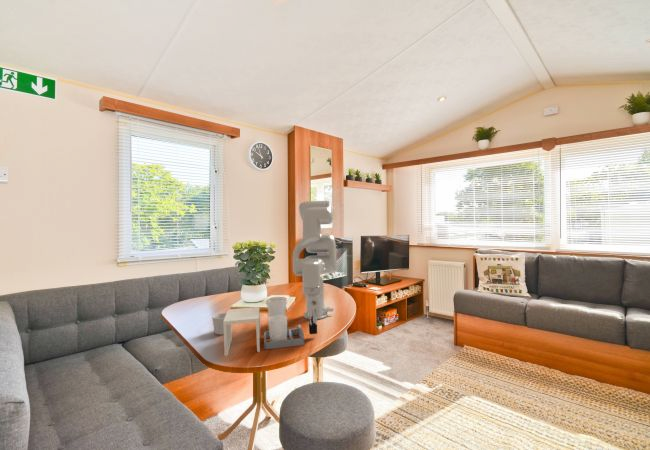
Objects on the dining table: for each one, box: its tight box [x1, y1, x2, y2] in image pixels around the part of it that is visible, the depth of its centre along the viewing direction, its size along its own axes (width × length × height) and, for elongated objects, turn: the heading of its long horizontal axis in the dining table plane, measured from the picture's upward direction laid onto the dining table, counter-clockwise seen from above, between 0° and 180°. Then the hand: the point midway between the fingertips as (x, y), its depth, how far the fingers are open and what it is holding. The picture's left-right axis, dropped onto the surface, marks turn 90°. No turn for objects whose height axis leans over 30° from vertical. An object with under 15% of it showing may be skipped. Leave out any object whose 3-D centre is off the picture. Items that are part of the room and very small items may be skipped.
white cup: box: [267, 315, 288, 342], centre depth 127 cm, size 8×8×10 cm
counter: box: [223, 306, 261, 357], centre depth 124 cm, size 13×16×13 cm
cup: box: [212, 312, 227, 336], centre depth 140 cm, size 11×8×8 cm
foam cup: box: [266, 296, 288, 318], centre depth 145 cm, size 10×9×13 cm
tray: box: [263, 324, 305, 350], centre depth 127 cm, size 16×13×4 cm
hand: (313, 333), depth 129 cm, fingers closed
